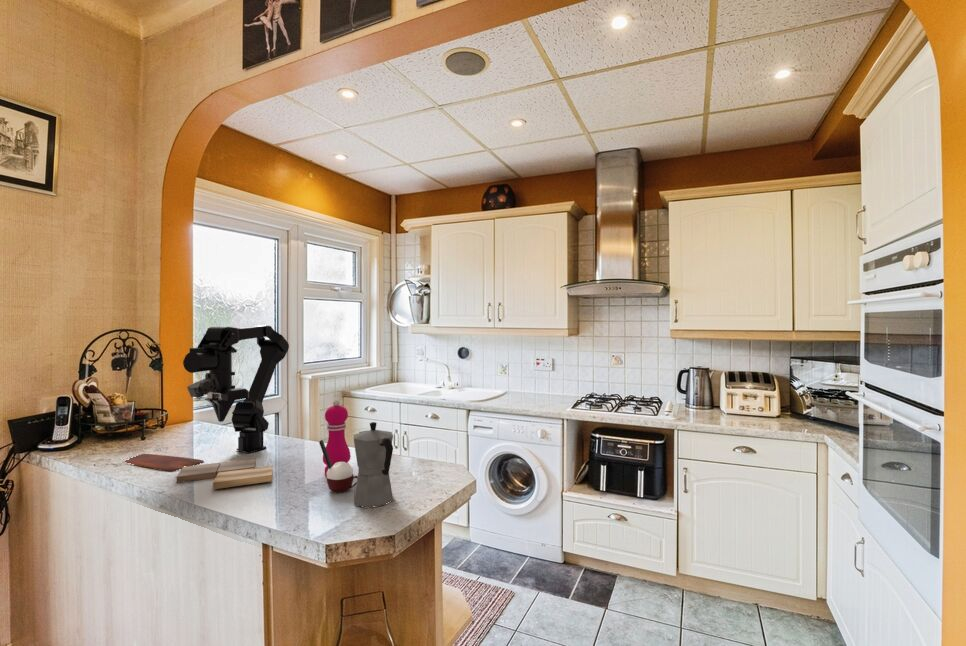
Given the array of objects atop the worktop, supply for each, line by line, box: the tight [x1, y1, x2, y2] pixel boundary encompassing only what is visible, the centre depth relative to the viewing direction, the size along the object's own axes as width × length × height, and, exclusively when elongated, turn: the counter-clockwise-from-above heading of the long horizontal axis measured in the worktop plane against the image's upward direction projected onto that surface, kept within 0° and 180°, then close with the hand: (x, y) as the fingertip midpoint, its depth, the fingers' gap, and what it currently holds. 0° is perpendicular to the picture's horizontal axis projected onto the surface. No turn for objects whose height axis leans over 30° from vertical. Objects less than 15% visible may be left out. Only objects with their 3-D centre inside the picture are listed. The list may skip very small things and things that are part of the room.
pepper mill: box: [322, 399, 351, 477], centre depth 121 cm, size 7×7×20 cm
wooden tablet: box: [125, 453, 205, 472], centre depth 132 cm, size 27×10×2 cm, turn 69°
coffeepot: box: [353, 421, 394, 508], centre depth 102 cm, size 15×9×18 cm, turn 39°
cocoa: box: [318, 439, 358, 494], centre depth 109 cm, size 10×6×12 cm, turn 67°
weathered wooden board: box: [176, 458, 257, 483], centre depth 122 cm, size 9×18×2 cm, turn 115°
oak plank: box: [212, 465, 274, 490], centre depth 115 cm, size 10×13×2 cm
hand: (221, 421), depth 131 cm, fingers closed
